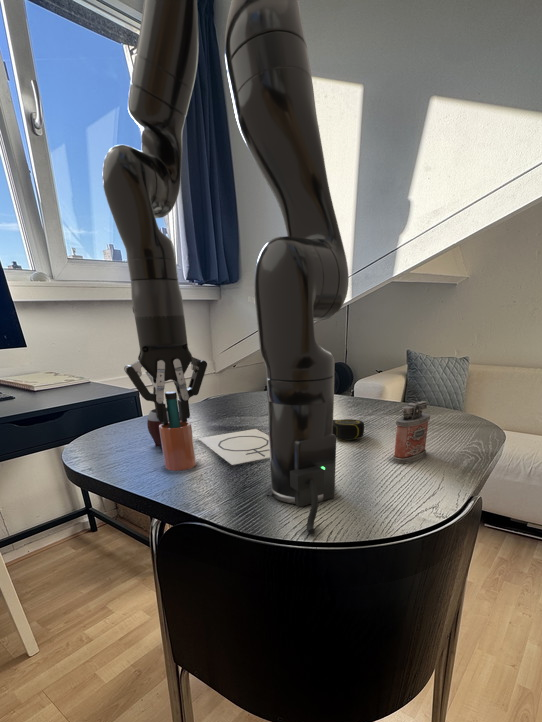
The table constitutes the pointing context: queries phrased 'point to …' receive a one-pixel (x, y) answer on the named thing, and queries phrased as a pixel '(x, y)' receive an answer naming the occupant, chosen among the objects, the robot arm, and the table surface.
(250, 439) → the sketch pad
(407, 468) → the table surface
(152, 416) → the mate gourd
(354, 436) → the tape measure
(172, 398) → the pen
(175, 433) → the pen cup
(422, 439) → the lighter
